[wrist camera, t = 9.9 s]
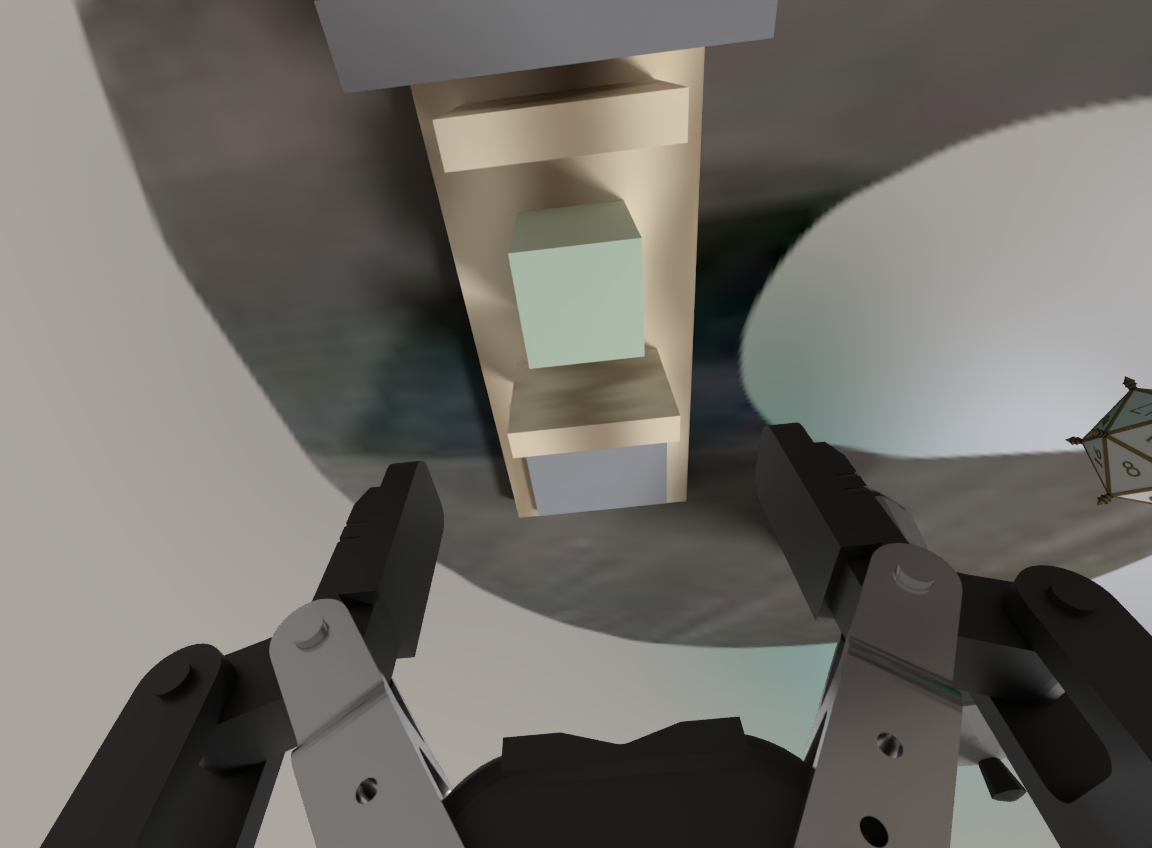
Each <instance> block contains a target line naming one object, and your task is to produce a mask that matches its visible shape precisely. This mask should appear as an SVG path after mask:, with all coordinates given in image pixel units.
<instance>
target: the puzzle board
mask: <svg viewBox="0 0 1152 848" xmlns="http://www.w3.org/2000/svg"><path fill="white" fill-rule="evenodd" d="M704 50H705V47H698V48H691V49H683V50H675V51H668V52H660V53H652V54H645V55H637V56H629V57H622V58H614V59H606V60H599V61H591V62H583V63H576V64H568V65H560V66H553V67H545V68H537V69H530V70H522V71H514V72H507V73H499V74H491V75H484V76H476V77H468V78H461V79H453V80H445V81H438V82H430V83H422V84H415V85H410V87H411V91H412V95H413V99H414V103H415V107H416V111H417V115H418V119H419V123H420V127H421V131H422V135H423V139H424V143H425V147H426V151H427V155H428V159H429V163H430V167H431V171H432V174H433V178H434V182H435V186H436V190H437V194H438V198H439V202H440V206H441V210H442V214H443V218H444V222H445V226H446V230H447V234H448V238H449V242H450V246H451V250H452V254H453V257H454V261H455V265H456V269H457V273H458V277H459V281H460V285H461V289H462V293H463V297H464V301H465V305H466V309H467V313H468V317H469V321H470V325H471V329H472V333H473V337H474V341H475V344H476V348H477V352H478V356H479V360H480V364H481V368H482V372H483V376H484V380H485V384H486V388H487V392H488V396H489V400H490V404H491V408H492V412H493V416H494V420H495V424H496V428H497V431H498V435H499V439H500V443H501V447H502V451H503V455H504V459H505V463H506V467H507V471H508V475H509V479H510V483H511V487H512V491H513V495H514V499H515V503H516V507H517V511H518V514H519V518H520V517H530V516H539V514H538V510H537V505H536V501H535V496H534V491H533V487H532V482H531V478H530V473H529V469H528V464H527V459H526V457H531V456H541V455H550V454H560V453H570V452H580V451H589V450H599V449H609V448H619V447H628V446H638V445H648V444H658V443H667V503H672V502H682V501H686V496H687V471H688V446H689V422H690V397H691V372H692V347H693V323H694V298H695V273H696V248H697V224H698V199H699V174H700V149H701V125H702V100H703V75H704ZM618 200H624V202H625V204H626V206H627V208H628V210H629V212H630V214H631V216H632V218H633V221H634V223H635V225H636V227H637V229H638V231H639V233H640V235H641V237H642V271H643V311H644V352H645V356H644V357H635V358H626V359H616V360H607V361H598V362H589V363H580V364H571V365H561V366H552V367H543V368H534V369H529V364H528V359H527V353H526V348H525V343H524V337H523V332H522V326H521V321H520V316H519V310H518V305H517V300H516V294H515V289H514V284H513V278H512V273H511V267H510V262H509V257H508V251H509V247H510V243H511V238H512V234H513V230H514V226H515V222H516V217H517V213H518V212H527V211H535V210H543V209H552V208H560V207H568V206H577V205H585V204H593V203H602V202H610V201H618Z"/></svg>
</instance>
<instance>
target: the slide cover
mask: <svg viewBox="0 0 1152 848" xmlns="http://www.w3.org/2000/svg"><path fill="white" fill-rule="evenodd" d="M314 3H315V6H316V9H317V12H318V15H319V18H320V22H321V25H322V28H323V31H324V34H325V37H326V40H327V43H328V46H329V50H330V53H331V56H332V59H333V62H334V65H335V68H336V71H337V74H338V78H339V81H340V84H341V87H342V90H343V93H344V94H346V93H353V92H361V91H369V90H376V89H384V88H392V87H399V86H407V85H415V84H422V83H430V82H438V81H445V80H453V79H461V78H468V77H476V76H484V75H491V74H499V73H507V72H514V71H522V70H530V69H537V68H545V67H553V66H560V65H568V64H576V63H583V62H591V61H599V60H606V59H614V58H622V57H629V56H637V55H645V54H652V53H660V52H668V51H675V50H683V49H691V48H698V47H706V46H714V45H721V44H729V43H737V42H744V41H752V40H760V39H767V38H774V28H775V19H776V10H777V0H318V1H314Z"/></svg>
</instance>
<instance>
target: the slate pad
mask: <svg viewBox="0 0 1152 848" xmlns="http://www.w3.org/2000/svg"><path fill="white" fill-rule="evenodd" d="M526 459H527V464H528V469H529V473H530V478H531V482H532V487H533V491H534V496H535V501H536V505H537V510H538V514H539V516H543V515H553V514H563V513H573V512H583V511H594V510H604V509H614V508H624V507H634V506H644V505H655V504H665V503H667V443H658V444H648V445H638V446H628V447H619V448H609V449H599V450H589V451H580V452H570V453H560V454H550V455H541V456H531V457H526Z"/></svg>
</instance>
